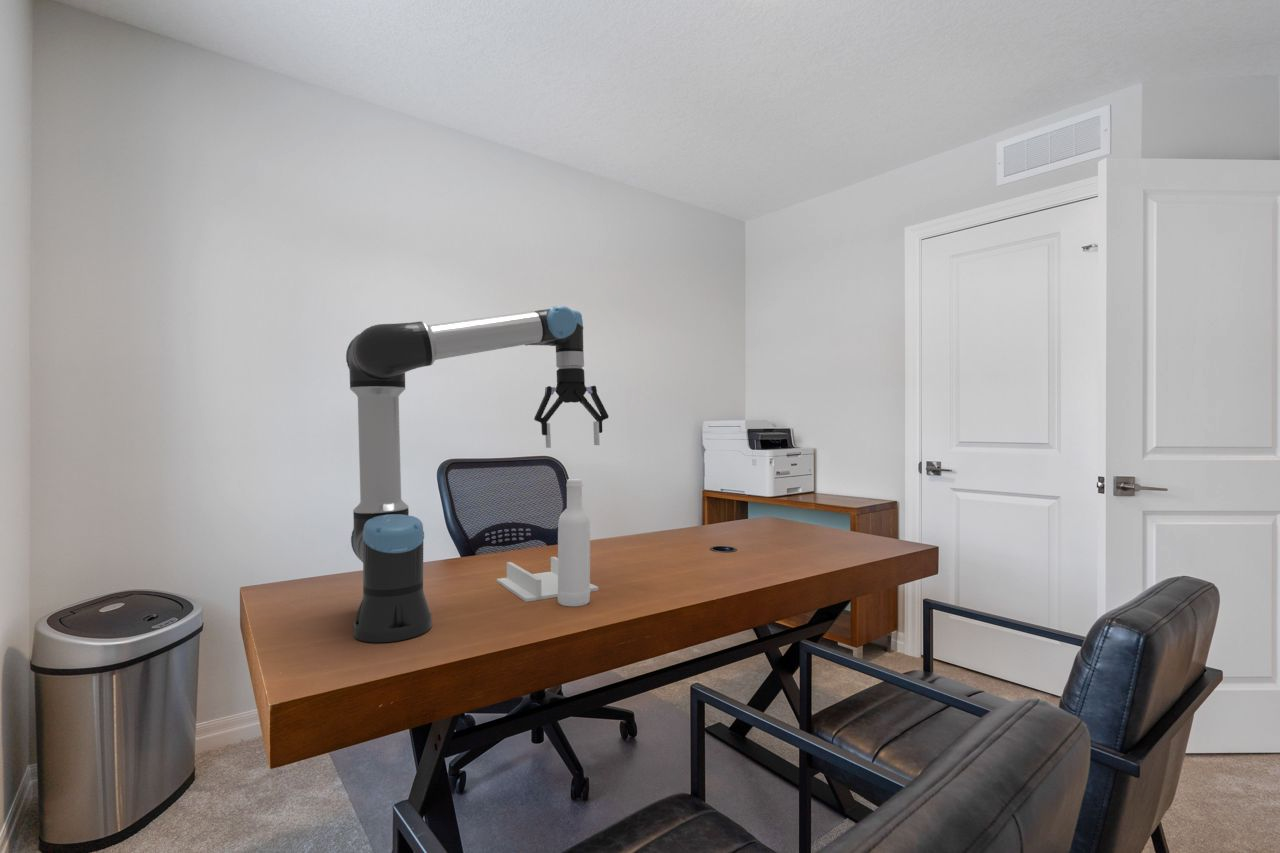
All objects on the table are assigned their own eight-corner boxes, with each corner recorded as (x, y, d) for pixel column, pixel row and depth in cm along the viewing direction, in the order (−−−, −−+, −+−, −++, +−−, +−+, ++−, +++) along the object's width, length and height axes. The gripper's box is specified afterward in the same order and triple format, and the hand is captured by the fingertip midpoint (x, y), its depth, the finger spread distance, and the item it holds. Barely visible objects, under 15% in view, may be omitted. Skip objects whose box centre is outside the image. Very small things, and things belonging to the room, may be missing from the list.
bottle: (588, 607, 141) (588, 480, 141) (555, 606, 141) (555, 480, 141) (591, 597, 149) (592, 477, 149) (560, 597, 149) (560, 477, 149)
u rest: (598, 590, 155) (598, 571, 155) (526, 602, 145) (526, 581, 145) (563, 572, 174) (563, 555, 174) (496, 581, 163) (496, 563, 163)
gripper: (609, 369, 169) (611, 443, 170) (521, 369, 160) (524, 448, 161) (618, 367, 162) (620, 444, 163) (527, 367, 153) (529, 449, 154)
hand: (572, 446), depth 162 cm, fingers open, 13 cm apart
